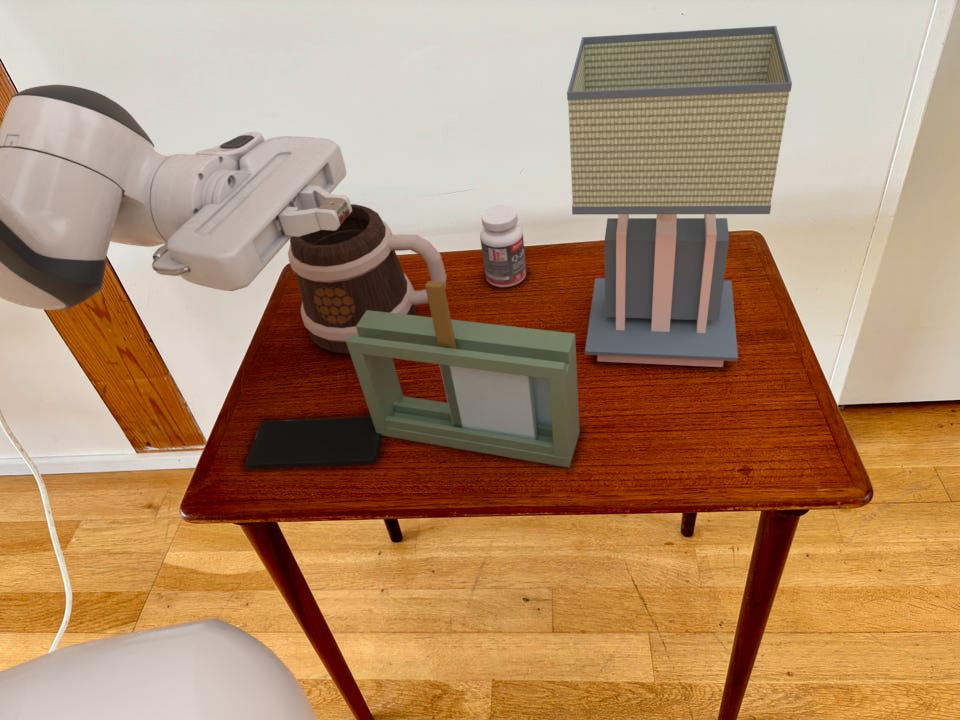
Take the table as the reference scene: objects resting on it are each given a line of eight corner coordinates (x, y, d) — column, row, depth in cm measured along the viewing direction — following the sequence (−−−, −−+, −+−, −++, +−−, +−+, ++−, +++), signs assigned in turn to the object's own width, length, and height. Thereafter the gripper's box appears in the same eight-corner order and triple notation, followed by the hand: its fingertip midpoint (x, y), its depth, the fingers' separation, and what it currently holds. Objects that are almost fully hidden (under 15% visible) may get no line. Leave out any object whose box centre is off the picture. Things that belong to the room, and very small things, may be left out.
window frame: (569, 468, 73) (563, 369, 64) (376, 434, 80) (345, 341, 70) (579, 432, 76) (575, 333, 67) (394, 403, 83) (366, 309, 74)
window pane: (535, 443, 74) (519, 295, 61) (453, 430, 76) (421, 286, 64) (537, 436, 74) (522, 288, 61) (456, 423, 77) (425, 279, 64)
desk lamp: (736, 296, 89) (775, 24, 68) (743, 374, 79) (792, 84, 58) (589, 293, 94) (582, 36, 72) (578, 366, 84) (566, 94, 62)
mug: (294, 360, 91) (255, 264, 81) (324, 289, 102) (292, 196, 92) (446, 356, 88) (425, 255, 78) (460, 283, 99) (443, 186, 89)
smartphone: (260, 420, 83) (385, 414, 81) (263, 425, 84) (387, 419, 82) (242, 466, 78) (375, 461, 76) (245, 471, 79) (377, 466, 77)
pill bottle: (523, 289, 96) (517, 226, 89) (482, 288, 97) (473, 226, 91) (529, 264, 100) (523, 202, 94) (489, 264, 101) (481, 203, 95)
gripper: (122, 237, 56) (270, 250, 52) (257, 123, 70) (382, 126, 66) (156, 300, 61) (296, 317, 56) (277, 181, 74) (396, 187, 70)
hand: (343, 213), depth 61 cm, fingers closed
